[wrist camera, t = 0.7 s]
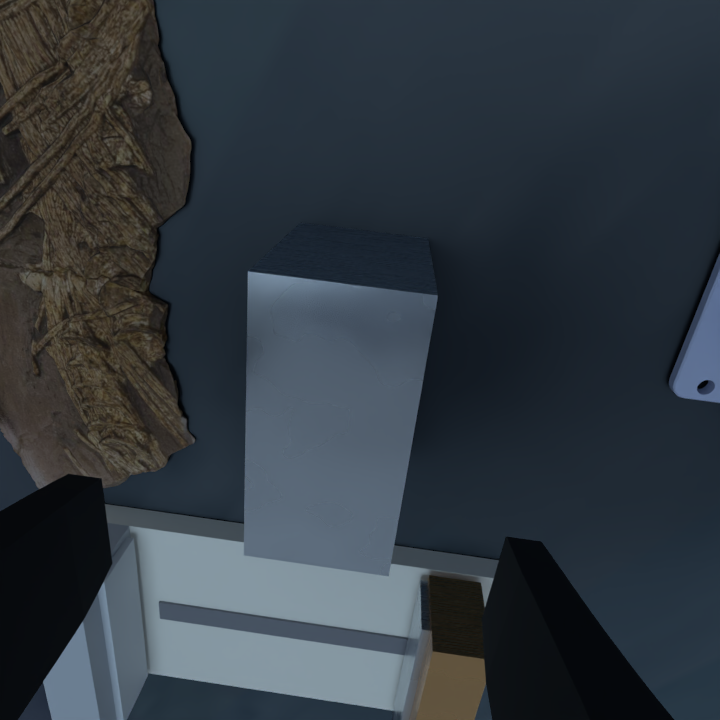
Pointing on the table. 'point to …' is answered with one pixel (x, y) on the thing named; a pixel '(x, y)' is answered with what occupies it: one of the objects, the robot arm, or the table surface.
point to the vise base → (239, 618)
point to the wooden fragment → (86, 238)
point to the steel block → (333, 393)
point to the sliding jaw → (443, 653)
